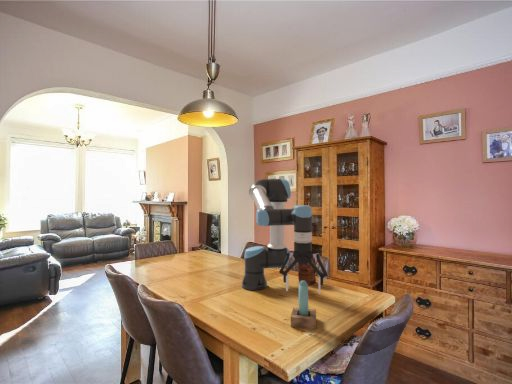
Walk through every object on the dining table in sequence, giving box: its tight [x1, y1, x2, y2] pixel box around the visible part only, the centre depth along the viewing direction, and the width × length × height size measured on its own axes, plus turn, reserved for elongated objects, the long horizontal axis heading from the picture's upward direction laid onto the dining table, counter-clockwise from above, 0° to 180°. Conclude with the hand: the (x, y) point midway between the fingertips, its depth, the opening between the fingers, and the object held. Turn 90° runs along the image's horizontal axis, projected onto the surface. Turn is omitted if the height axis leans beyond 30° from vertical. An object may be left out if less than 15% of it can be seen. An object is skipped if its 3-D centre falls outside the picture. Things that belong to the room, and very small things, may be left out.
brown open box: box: [290, 307, 317, 330], centre depth 115 cm, size 10×10×4 cm
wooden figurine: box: [297, 257, 317, 286], centre depth 169 cm, size 12×6×18 cm, turn 124°
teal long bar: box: [298, 280, 309, 316], centre depth 116 cm, size 4×4×18 cm
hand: (303, 291), depth 116 cm, fingers open, 13 cm apart
